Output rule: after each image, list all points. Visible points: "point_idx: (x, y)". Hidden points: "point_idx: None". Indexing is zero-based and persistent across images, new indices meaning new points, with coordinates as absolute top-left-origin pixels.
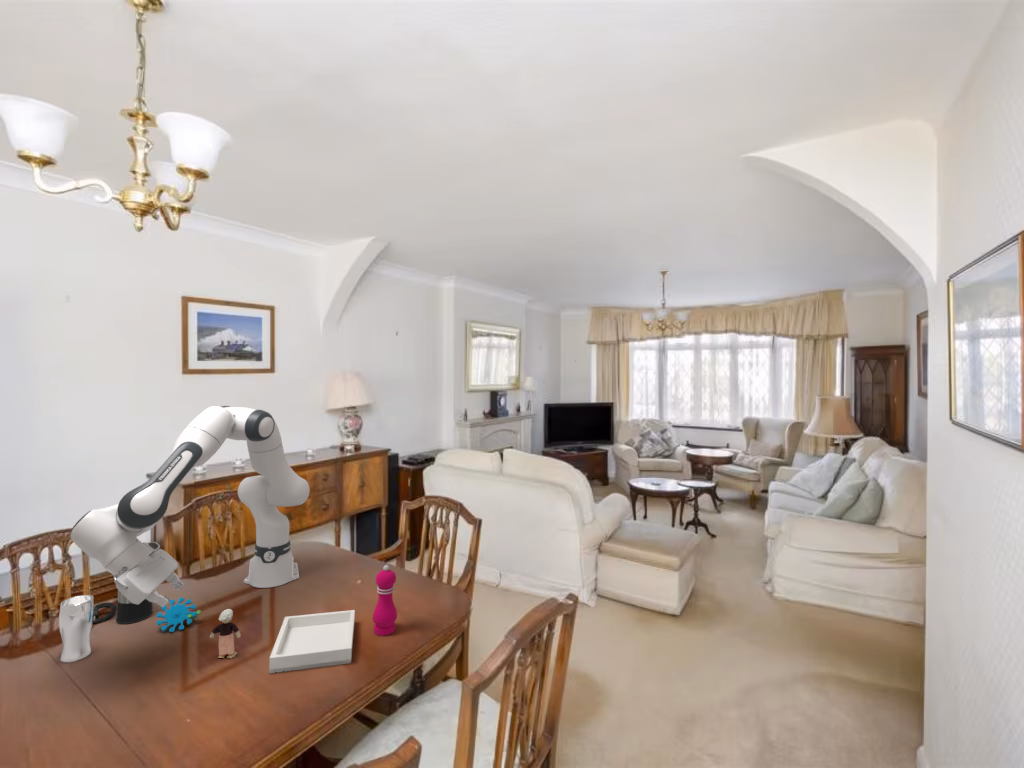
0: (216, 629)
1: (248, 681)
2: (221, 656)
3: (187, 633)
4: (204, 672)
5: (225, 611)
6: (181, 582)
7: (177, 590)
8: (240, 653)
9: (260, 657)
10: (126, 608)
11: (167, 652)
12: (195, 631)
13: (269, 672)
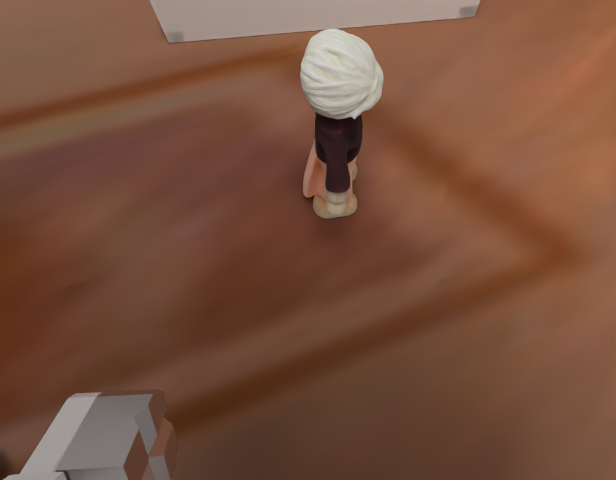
0: (347, 163)
1: (518, 63)
2: (353, 197)
3: None
4: (449, 230)
5: (350, 51)
6: (65, 429)
7: (172, 452)
8: None
9: None
10: None
11: (251, 475)
12: None
13: (474, 13)
